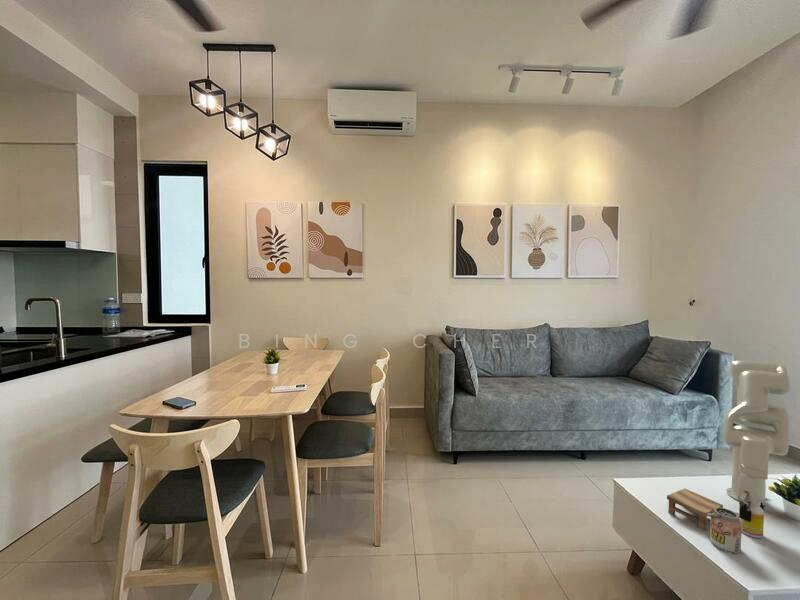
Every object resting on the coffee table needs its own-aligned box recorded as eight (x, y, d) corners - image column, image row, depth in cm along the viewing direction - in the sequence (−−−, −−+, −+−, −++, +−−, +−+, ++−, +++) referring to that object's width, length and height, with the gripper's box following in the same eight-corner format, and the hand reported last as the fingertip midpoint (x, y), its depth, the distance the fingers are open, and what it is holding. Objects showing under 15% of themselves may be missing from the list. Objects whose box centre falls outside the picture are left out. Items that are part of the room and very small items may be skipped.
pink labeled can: (700, 536, 133) (701, 504, 132) (721, 535, 134) (722, 503, 133) (725, 555, 124) (727, 520, 123) (747, 553, 124) (749, 519, 124)
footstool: (684, 504, 153) (684, 488, 153) (722, 522, 141) (723, 505, 141) (666, 512, 147) (666, 495, 147) (704, 531, 135) (705, 513, 135)
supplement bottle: (768, 540, 132) (769, 505, 131) (746, 537, 133) (748, 502, 133) (754, 528, 138) (755, 495, 138) (733, 525, 140) (735, 492, 139)
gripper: (751, 462, 142) (749, 506, 142) (729, 470, 134) (727, 516, 134) (777, 471, 135) (775, 517, 135) (756, 479, 128) (753, 528, 128)
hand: (751, 516), depth 135 cm, fingers open, 9 cm apart
